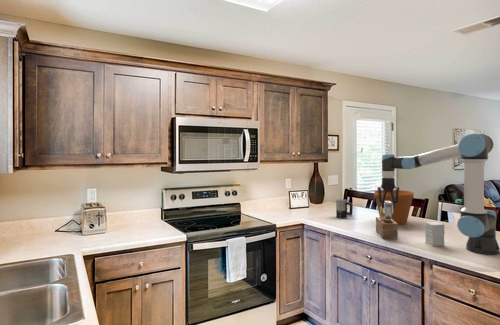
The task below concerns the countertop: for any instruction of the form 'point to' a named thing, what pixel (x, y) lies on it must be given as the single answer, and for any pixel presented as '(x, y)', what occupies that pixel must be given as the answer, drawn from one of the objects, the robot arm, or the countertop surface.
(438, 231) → the supplement box
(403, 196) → the flowerpot
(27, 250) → the countertop surface
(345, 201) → the milk frother
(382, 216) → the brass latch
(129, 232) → the countertop surface
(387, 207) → the grey block
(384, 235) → the socket block
